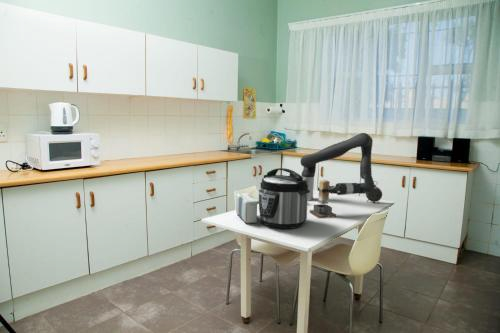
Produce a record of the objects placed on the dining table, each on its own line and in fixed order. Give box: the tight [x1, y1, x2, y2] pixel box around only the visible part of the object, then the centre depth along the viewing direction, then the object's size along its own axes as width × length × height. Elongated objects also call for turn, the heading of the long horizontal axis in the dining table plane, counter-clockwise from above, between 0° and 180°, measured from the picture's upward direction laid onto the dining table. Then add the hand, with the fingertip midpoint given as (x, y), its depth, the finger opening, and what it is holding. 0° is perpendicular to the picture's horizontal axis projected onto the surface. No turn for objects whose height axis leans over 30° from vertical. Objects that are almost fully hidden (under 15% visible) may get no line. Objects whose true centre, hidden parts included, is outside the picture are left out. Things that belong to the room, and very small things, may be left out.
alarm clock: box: [365, 180, 383, 204], centre depth 257 cm, size 11×5×16 cm, turn 84°
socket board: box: [309, 203, 337, 219], centre depth 224 cm, size 12×12×6 cm
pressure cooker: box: [258, 167, 310, 229], centre depth 203 cm, size 30×28×32 cm
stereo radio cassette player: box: [235, 189, 259, 224], centre depth 210 cm, size 21×8×20 cm, turn 17°
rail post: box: [318, 179, 330, 205], centre depth 222 cm, size 4×4×14 cm
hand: (320, 190), depth 221 cm, fingers closed on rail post, 4 cm apart
